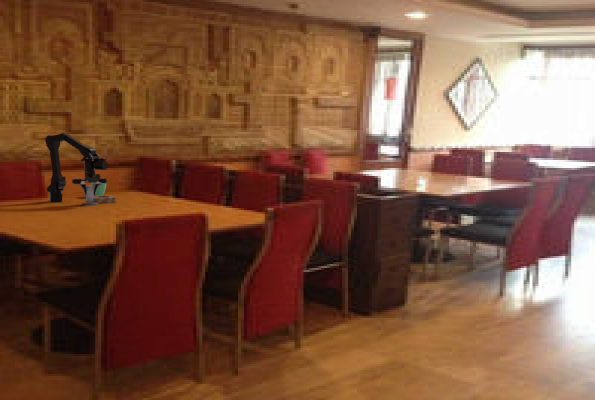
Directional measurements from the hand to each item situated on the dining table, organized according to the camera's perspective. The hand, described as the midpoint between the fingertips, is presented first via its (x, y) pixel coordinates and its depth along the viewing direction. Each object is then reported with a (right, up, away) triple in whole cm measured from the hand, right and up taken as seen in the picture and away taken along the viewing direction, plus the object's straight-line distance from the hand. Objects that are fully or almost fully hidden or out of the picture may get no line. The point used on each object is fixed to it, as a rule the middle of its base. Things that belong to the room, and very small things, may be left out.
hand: (89, 195), depth 371 cm
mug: (-6, -1, +36) cm, 36 cm away
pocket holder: (+4, -4, +13) cm, 14 cm away
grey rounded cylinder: (0, -3, 0) cm, 3 cm away
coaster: (0, -5, +1) cm, 5 cm away
